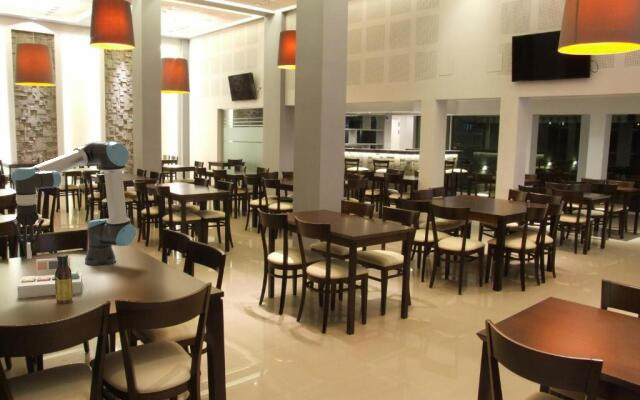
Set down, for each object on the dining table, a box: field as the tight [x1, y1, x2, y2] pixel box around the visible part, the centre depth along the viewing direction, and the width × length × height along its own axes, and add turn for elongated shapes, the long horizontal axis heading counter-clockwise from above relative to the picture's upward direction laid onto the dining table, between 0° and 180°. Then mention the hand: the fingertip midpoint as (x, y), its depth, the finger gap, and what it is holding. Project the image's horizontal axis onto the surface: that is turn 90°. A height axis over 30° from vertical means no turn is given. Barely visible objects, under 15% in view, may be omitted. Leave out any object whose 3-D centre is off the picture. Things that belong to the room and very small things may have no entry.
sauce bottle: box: [55, 253, 74, 305], centre depth 213 cm, size 6×6×20 cm
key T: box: [23, 278, 35, 283], centre depth 225 cm, size 4×4×4 cm
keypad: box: [16, 271, 83, 299], centre depth 229 cm, size 24×16×5 cm, turn 113°
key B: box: [38, 277, 50, 282], centre depth 227 cm, size 4×4×4 cm
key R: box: [71, 271, 80, 279], centre depth 232 cm, size 4×4×4 cm
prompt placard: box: [35, 257, 71, 276], centre depth 240 cm, size 14×1×11 cm, turn 113°
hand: (29, 257), depth 225 cm, fingers closed
